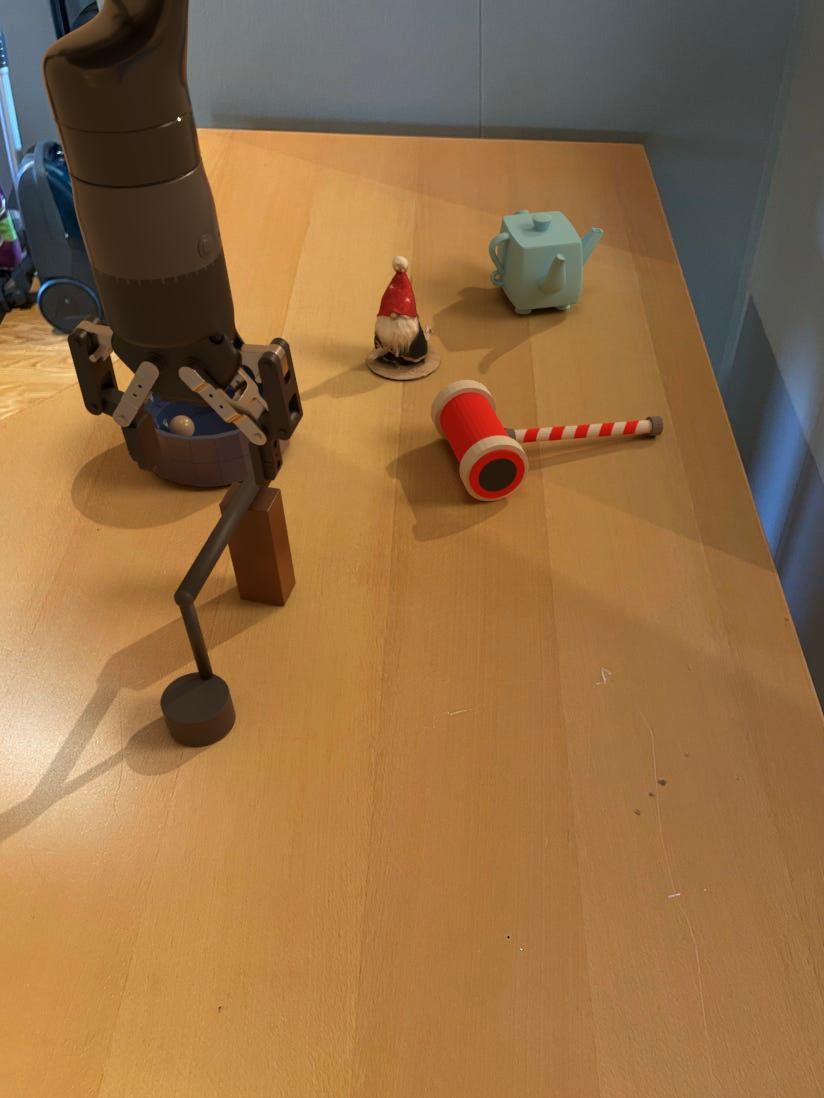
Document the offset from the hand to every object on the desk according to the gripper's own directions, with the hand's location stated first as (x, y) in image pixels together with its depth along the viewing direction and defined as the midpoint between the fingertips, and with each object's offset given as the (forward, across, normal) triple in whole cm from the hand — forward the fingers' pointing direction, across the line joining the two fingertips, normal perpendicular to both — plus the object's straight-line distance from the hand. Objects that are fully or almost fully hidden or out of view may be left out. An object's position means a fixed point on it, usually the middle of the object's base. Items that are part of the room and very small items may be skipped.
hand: (208, 471), depth 67 cm
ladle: (+17, 0, +2) cm, 17 cm away
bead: (+15, +16, -24) cm, 32 cm away
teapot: (+17, -15, -62) cm, 66 cm away
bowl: (+17, +12, -24) cm, 32 cm away
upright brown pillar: (+17, 0, -5) cm, 18 cm away
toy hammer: (+17, -19, -30) cm, 39 cm away
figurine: (+17, -2, -44) cm, 47 cm away
